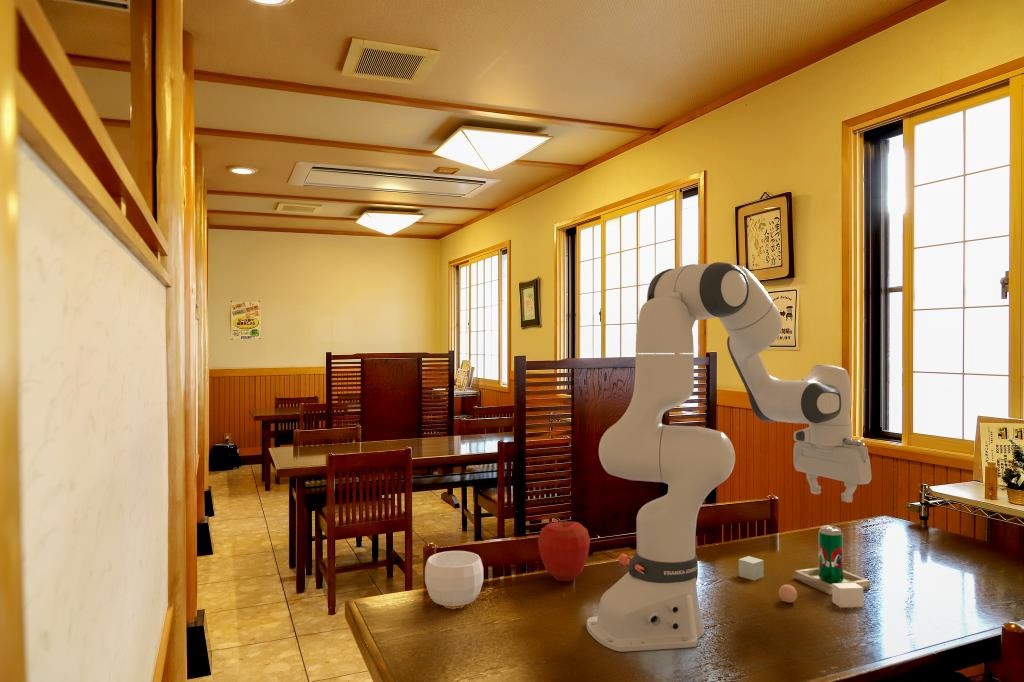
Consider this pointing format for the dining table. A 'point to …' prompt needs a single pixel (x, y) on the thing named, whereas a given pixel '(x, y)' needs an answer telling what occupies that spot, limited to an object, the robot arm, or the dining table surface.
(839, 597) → the cream block
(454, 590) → the cup
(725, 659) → the dining table surface
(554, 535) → the apple
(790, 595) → the terracotta ball
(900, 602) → the dining table surface
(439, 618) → the dining table surface
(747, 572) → the sage block
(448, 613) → the dining table surface
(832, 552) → the soda can
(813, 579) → the tray
